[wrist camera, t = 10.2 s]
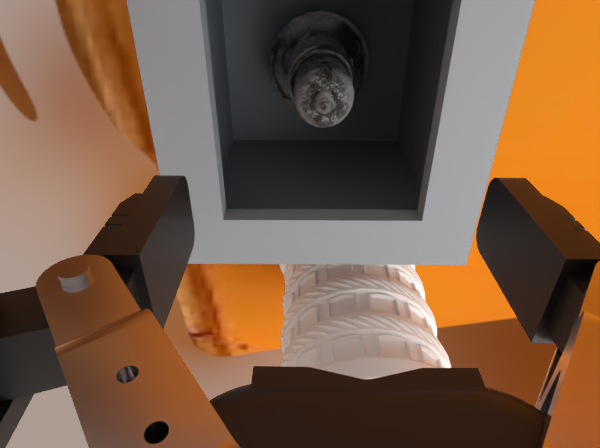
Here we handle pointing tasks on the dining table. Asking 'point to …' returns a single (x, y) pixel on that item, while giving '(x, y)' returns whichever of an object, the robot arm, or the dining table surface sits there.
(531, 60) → the dining table surface
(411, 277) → the decorative container
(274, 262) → the box
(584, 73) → the dining table surface
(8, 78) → the dining table surface
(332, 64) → the salt shaker
